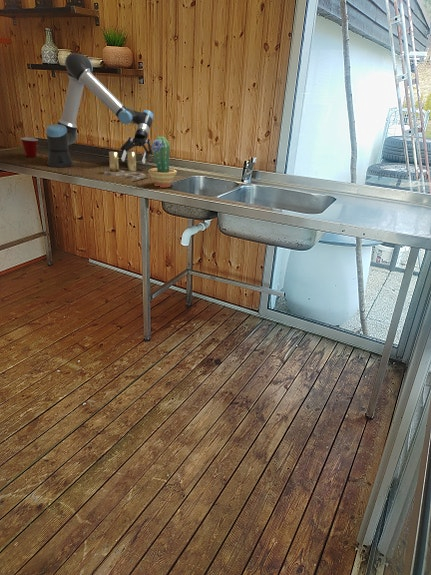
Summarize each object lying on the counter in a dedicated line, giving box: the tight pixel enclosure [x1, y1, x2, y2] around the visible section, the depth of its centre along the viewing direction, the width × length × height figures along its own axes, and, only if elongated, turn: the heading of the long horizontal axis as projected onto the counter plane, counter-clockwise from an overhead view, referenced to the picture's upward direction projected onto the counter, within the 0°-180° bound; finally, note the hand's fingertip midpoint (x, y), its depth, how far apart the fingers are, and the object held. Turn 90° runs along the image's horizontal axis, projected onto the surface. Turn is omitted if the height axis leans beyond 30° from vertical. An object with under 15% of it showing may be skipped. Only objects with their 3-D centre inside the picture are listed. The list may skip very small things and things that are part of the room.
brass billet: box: [126, 150, 137, 172], centre depth 243 cm, size 5×5×12 cm
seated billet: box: [108, 151, 120, 173], centre depth 229 cm, size 5×5×12 cm
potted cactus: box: [147, 136, 178, 188], centre depth 211 cm, size 15×15×25 cm
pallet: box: [100, 169, 149, 183], centre depth 229 cm, size 23×14×3 cm, turn 65°
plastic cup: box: [20, 137, 39, 158], centre depth 271 cm, size 11×11×12 cm
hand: (132, 161), depth 242 cm, fingers open, 13 cm apart
